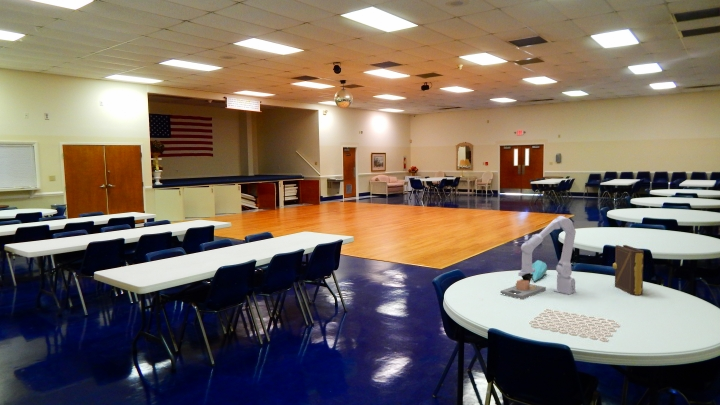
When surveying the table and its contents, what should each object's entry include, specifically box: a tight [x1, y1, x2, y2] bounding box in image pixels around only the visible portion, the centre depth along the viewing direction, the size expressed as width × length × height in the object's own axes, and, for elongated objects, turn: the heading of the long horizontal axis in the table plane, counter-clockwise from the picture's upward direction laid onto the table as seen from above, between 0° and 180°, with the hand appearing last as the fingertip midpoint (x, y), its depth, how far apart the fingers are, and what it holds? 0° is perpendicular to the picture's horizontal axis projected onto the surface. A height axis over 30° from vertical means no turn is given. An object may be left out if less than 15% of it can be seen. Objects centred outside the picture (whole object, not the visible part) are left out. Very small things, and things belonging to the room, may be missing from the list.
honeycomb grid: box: [528, 308, 621, 343], centre depth 219 cm, size 30×35×1 cm
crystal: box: [531, 259, 548, 282], centre depth 306 cm, size 10×34×10 cm, turn 153°
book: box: [612, 244, 645, 296], centre depth 270 cm, size 22×8×25 cm, turn 179°
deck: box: [500, 282, 547, 300], centre depth 272 cm, size 14×25×4 cm, turn 129°
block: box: [516, 278, 529, 291], centre depth 272 cm, size 5×5×5 cm
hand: (526, 286), depth 275 cm, fingers closed
